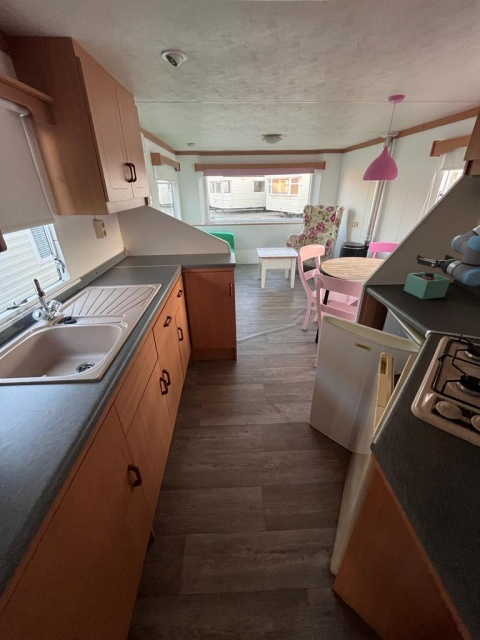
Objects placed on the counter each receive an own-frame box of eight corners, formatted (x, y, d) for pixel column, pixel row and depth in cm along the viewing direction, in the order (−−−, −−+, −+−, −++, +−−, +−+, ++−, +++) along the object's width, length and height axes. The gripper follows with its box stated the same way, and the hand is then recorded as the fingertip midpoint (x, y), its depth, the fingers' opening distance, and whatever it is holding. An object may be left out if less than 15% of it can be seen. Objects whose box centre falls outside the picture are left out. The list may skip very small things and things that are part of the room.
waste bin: (444, 296, 141) (450, 279, 137) (422, 299, 139) (427, 281, 135) (424, 288, 153) (429, 271, 149) (403, 290, 151) (408, 273, 147)
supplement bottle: (417, 289, 150) (423, 270, 144) (430, 291, 147) (436, 271, 142) (417, 293, 145) (423, 273, 140) (430, 294, 142) (437, 274, 137)
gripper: (423, 276, 125) (404, 264, 143) (482, 276, 121) (455, 264, 140) (427, 260, 121) (408, 250, 140) (488, 260, 118) (460, 250, 137)
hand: (431, 257), depth 140 cm, fingers open, 13 cm apart
